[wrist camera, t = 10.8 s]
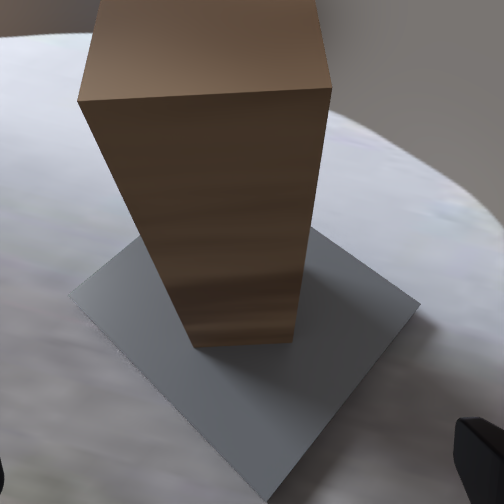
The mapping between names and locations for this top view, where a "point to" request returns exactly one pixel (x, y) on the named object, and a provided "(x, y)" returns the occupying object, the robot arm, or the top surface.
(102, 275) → the far plate
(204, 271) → the walnut block
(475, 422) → the robot arm
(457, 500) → the top surface
